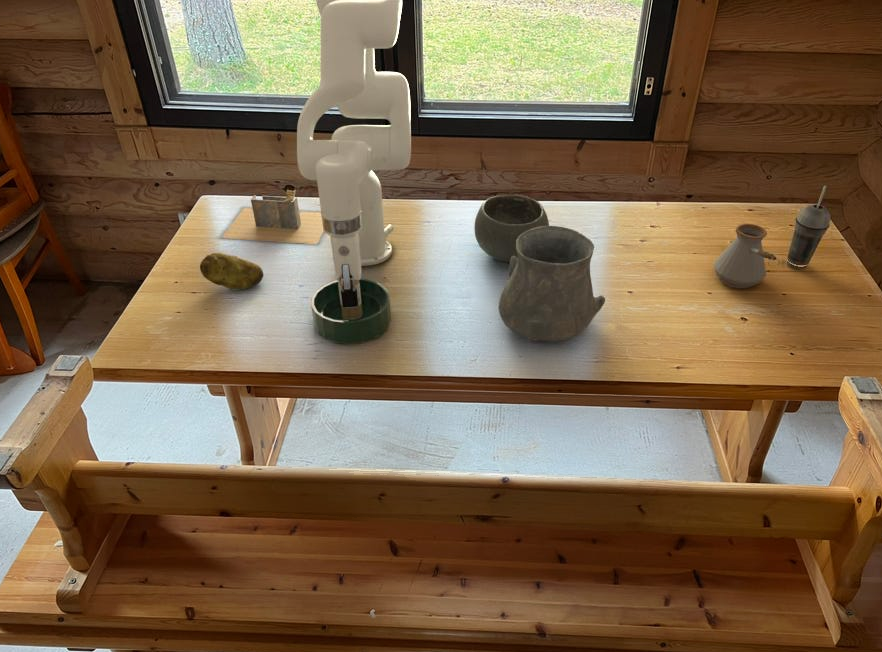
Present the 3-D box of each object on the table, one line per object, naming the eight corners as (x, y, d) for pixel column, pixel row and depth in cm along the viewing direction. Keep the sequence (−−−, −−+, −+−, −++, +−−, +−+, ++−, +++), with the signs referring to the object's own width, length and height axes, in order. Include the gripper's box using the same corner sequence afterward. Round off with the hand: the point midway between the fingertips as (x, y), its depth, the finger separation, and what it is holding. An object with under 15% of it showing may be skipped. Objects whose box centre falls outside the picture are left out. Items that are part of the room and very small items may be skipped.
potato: (254, 298, 155) (247, 268, 150) (200, 292, 156) (192, 262, 151) (268, 278, 161) (262, 248, 156) (216, 273, 163) (209, 243, 158)
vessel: (609, 358, 139) (625, 273, 126) (499, 356, 139) (504, 272, 126) (593, 297, 155) (606, 217, 142) (495, 295, 156) (499, 216, 143)
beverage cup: (779, 269, 164) (807, 192, 151) (780, 254, 169) (807, 178, 157) (812, 275, 162) (843, 197, 149) (812, 260, 167) (842, 184, 154)
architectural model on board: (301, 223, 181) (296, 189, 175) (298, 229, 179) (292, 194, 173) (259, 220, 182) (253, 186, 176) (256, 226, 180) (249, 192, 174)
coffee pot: (705, 265, 166) (721, 208, 156) (754, 266, 165) (773, 210, 155) (727, 317, 149) (747, 258, 140) (781, 319, 149) (805, 260, 139)
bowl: (528, 231, 178) (532, 186, 170) (558, 267, 165) (564, 219, 157) (463, 242, 174) (464, 196, 166) (489, 279, 161) (491, 231, 153)
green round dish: (328, 297, 155) (325, 274, 151) (398, 304, 153) (397, 281, 149) (304, 341, 143) (300, 317, 139) (380, 349, 141) (378, 326, 137)
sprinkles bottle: (360, 307, 149) (354, 253, 140) (365, 319, 146) (360, 264, 137) (339, 311, 148) (332, 257, 139) (344, 323, 144) (337, 268, 136)
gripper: (362, 241, 126) (369, 321, 138) (361, 199, 139) (367, 276, 151) (320, 244, 126) (331, 324, 137) (323, 201, 138) (333, 278, 150)
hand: (350, 298), depth 144 cm, fingers closed on sprinkles bottle, 4 cm apart
